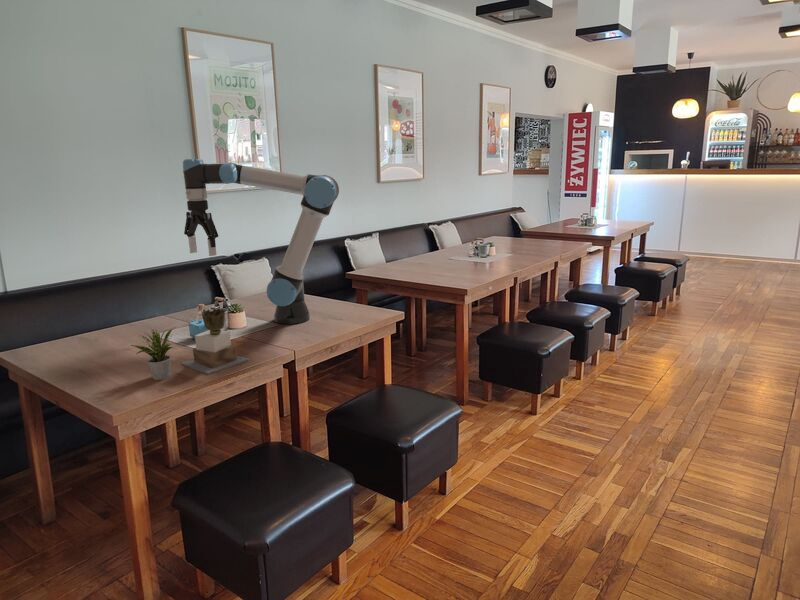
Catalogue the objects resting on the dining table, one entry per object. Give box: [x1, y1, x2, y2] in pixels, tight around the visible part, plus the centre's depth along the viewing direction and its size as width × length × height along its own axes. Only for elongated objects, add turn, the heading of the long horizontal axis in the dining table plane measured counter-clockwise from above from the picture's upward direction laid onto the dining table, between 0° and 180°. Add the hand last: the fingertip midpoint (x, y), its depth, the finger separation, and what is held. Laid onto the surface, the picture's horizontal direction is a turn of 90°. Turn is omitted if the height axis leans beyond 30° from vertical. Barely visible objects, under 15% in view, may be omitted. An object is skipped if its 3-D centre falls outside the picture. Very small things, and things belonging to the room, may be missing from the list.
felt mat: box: [181, 354, 250, 376], centre depth 194 cm, size 16×16×1 cm
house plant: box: [130, 326, 177, 381], centre depth 182 cm, size 14×14×16 cm
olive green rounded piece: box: [201, 308, 226, 335], centre depth 189 cm, size 8×7×8 cm
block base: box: [192, 344, 237, 368], centre depth 193 cm, size 10×10×5 cm
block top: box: [194, 329, 232, 352], centre depth 192 cm, size 8×8×5 cm
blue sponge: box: [188, 318, 208, 340], centre depth 221 cm, size 12×6×8 cm, turn 50°
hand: (203, 254), depth 223 cm, fingers open, 13 cm apart
